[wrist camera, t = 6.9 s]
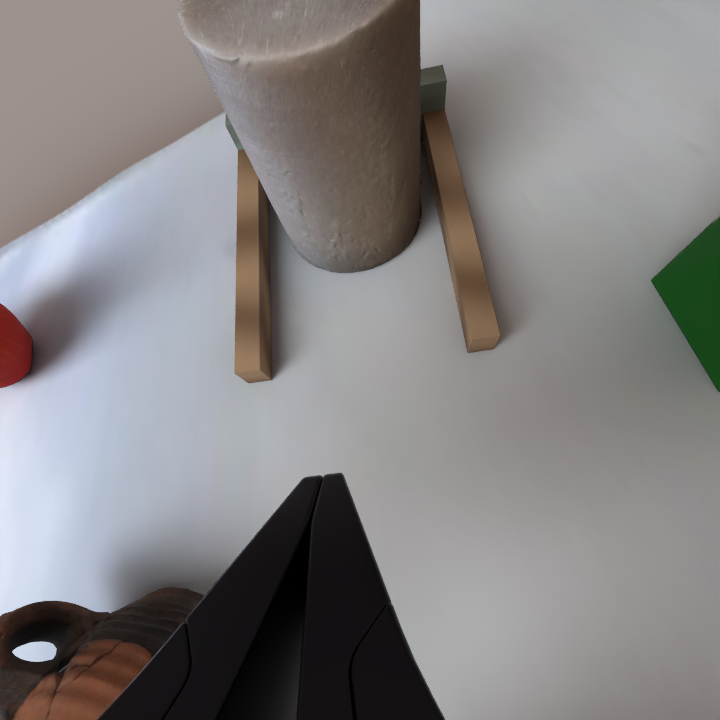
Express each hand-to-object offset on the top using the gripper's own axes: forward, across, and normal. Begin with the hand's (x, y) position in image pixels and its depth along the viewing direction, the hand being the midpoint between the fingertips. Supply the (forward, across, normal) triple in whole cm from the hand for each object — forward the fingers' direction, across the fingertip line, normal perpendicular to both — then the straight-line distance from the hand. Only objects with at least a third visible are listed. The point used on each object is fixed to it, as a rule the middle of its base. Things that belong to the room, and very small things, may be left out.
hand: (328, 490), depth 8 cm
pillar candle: (+23, 0, -4) cm, 23 cm away
